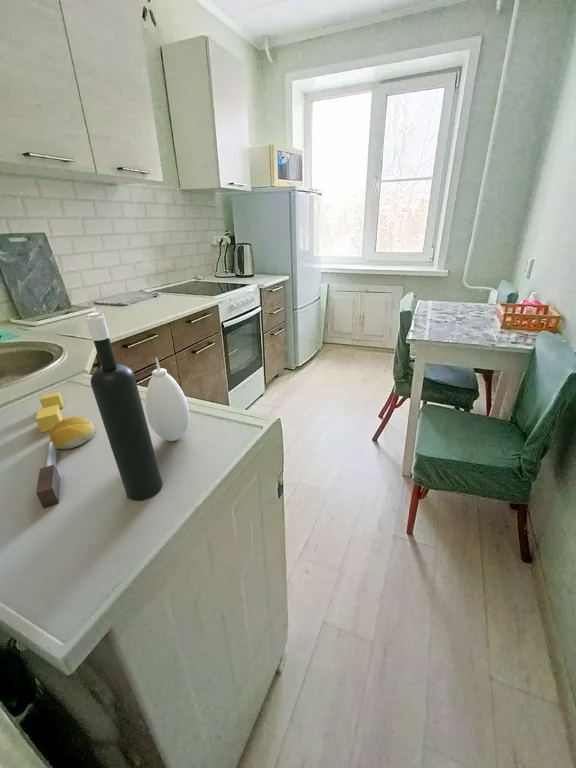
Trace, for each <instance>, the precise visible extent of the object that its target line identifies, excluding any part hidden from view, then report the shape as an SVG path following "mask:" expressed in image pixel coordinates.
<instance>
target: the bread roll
mask: <svg viewBox="0 0 576 768" xmlns="http://www.w3.org/2000/svg"><path fill="white" fill-rule="evenodd" d="M95 432H96V428H95V426H94V424H93V422H91V420H89V419H87V418H86V417H82V416H69V417H66V418H63V420H61V421H60V422H58V423H57V424H56V425H55V426H54V427H53V428H52V429H51V430H50V431H49V442H53V445H54V447H55V450H68V449H74V448H77V447H80V446H81V445H83V444H85V443H87V442H88V441H89V440H91V439H92V438H93V437H94V435H95Z"/></svg>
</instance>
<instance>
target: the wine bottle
mask: <svg viewBox="0 0 576 768" xmlns="http://www.w3.org/2000/svg"><path fill="white" fill-rule="evenodd" d="M84 317H85V320H86V323H87V326H88V330H89V334H90V337H91V340H92V341H93V343H94V347H95V350H96V354H97V357H98V362H99V364H100V367H99V368H98V369H97V370H95V371H94V372H93V373H92V375H91V376H90V386H91V389H92V392H93V395H94V398H95V402H96V405H97V408H98V411H99V414H100V417H101V421H102V423H103V426H104V430H105V433H106V435H107V439H108V442H109V445H110V448H111V452H112V454H113V457H114V460H115V464H116V467H117V470H118V474H119V476H120V479H121V482H122V486H123V488H124V491H125V495H126V497H127V498H128V499H129V500H131V501H135V502H139V501H146V500H148V499H151V498H152V497H154V496H156V495H157V494H159V492H160V491H161V489H162V487H163V480H162V476H161V472H160V469H159V464H158V460H157V457H156V453H155V449H154V446H153V445H154V444H153V442H152V437H151V435H150V431H149V430H150V429H149V426H148V422H147V418H146V415H145V410H144V407H143V403H142V399H141V396H140V395H141V394H140V392H139V388H138V383H137V380H136V375H135V373H134V371H133V370H132V369H131V367H129V366H127V365H124V364H120V363H119V364H118V363H117V361H116V357H115V354H114V349H113V346H112V343H111V340H110V337H111V336H110V332H109V330H108V325H107V322H106V318H105V315H104V312H97V311H96V312H91V313H88V314H84Z"/></svg>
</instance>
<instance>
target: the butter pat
mask: <svg viewBox="0 0 576 768" xmlns="http://www.w3.org/2000/svg"><path fill="white" fill-rule="evenodd" d="M39 402H40V405H41V407H42V408H47V407H51V406H55V405H58V406H59V409H64V404H65V403H64V400H63V398H62V395H61V392H60V391H55V392H51V393H46V394H41V395H40V397H39Z"/></svg>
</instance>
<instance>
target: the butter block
mask: <svg viewBox="0 0 576 768" xmlns="http://www.w3.org/2000/svg"><path fill="white" fill-rule="evenodd" d="M60 409H61V408H60ZM60 409H59V406H58V405H55V406H51V407H47V408H43V407H42V408H38V409H37V411H36V416H35V422H36V424H37V426H38V430H39V431H40V433H45V432H50V431H51V429H52V428H53V427H54V426H55V425H56V424H57V423H58V422H60V421H61V420H63V419H64V417H63V415H62V412H61V410H60Z"/></svg>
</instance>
